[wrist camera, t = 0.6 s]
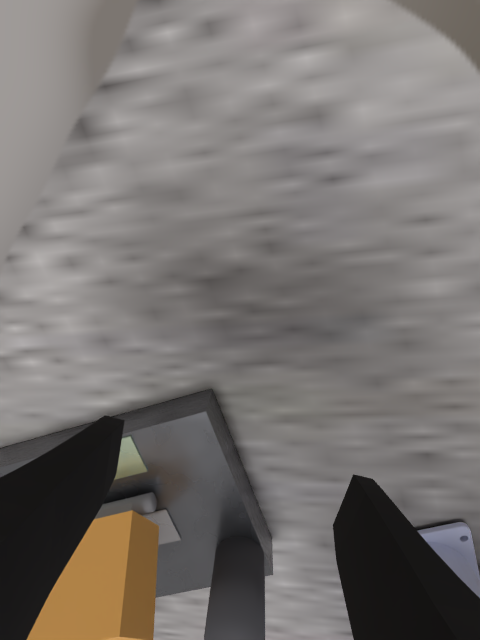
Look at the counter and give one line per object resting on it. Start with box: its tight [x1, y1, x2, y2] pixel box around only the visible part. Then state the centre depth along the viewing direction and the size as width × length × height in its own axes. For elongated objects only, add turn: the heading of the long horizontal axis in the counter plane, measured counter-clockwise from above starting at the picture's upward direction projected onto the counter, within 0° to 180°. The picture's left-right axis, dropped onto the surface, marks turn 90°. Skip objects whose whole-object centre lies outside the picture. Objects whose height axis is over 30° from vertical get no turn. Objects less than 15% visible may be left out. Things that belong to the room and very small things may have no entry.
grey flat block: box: [0, 389, 273, 598], centre depth 23 cm, size 12×15×3 cm
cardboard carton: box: [27, 492, 159, 640], centre depth 19 cm, size 3×6×6 cm, turn 110°
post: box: [204, 537, 265, 640], centre depth 20 cm, size 3×3×4 cm
